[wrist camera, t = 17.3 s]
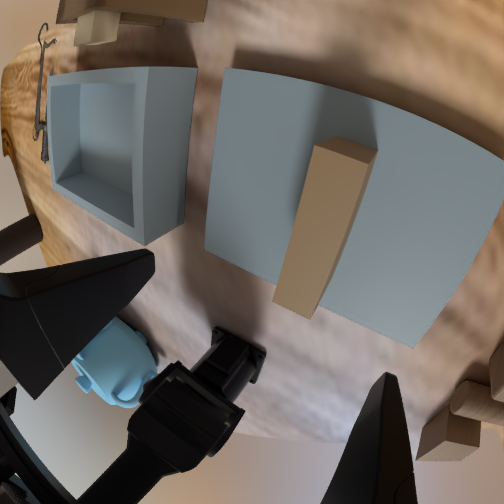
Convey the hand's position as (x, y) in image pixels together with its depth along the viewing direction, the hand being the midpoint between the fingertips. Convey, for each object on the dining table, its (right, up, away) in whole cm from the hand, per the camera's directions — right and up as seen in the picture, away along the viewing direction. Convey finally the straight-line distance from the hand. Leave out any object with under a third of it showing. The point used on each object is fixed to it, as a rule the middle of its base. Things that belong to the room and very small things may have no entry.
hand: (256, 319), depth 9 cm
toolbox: (-13, +17, +14) cm, 25 cm away
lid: (+6, +5, +9) cm, 11 cm away
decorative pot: (-21, -14, +38) cm, 45 cm away
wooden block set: (+27, -13, +7) cm, 30 cm away
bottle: (-49, +8, +43) cm, 66 cm away
